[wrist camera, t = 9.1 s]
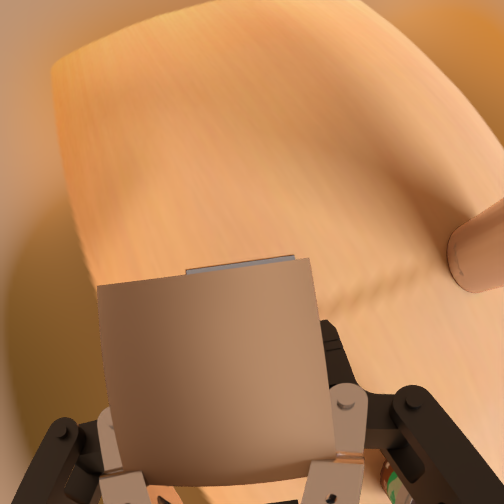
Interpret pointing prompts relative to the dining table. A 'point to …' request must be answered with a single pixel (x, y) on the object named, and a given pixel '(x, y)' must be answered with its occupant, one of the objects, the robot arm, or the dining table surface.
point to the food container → (394, 486)
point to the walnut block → (217, 375)
